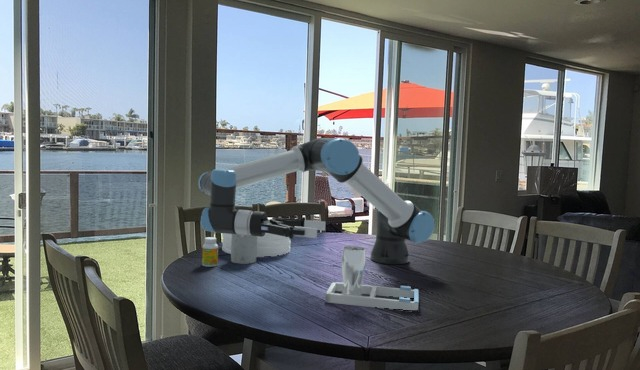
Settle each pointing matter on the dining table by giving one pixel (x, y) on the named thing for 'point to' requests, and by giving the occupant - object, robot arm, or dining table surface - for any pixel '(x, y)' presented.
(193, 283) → the dining table surface
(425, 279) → the dining table surface
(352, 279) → the beer glass
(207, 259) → the supplement bottle
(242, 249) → the gray cylinder
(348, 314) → the dining table surface
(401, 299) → the light blue bracket
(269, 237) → the plate stack
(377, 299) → the frame
